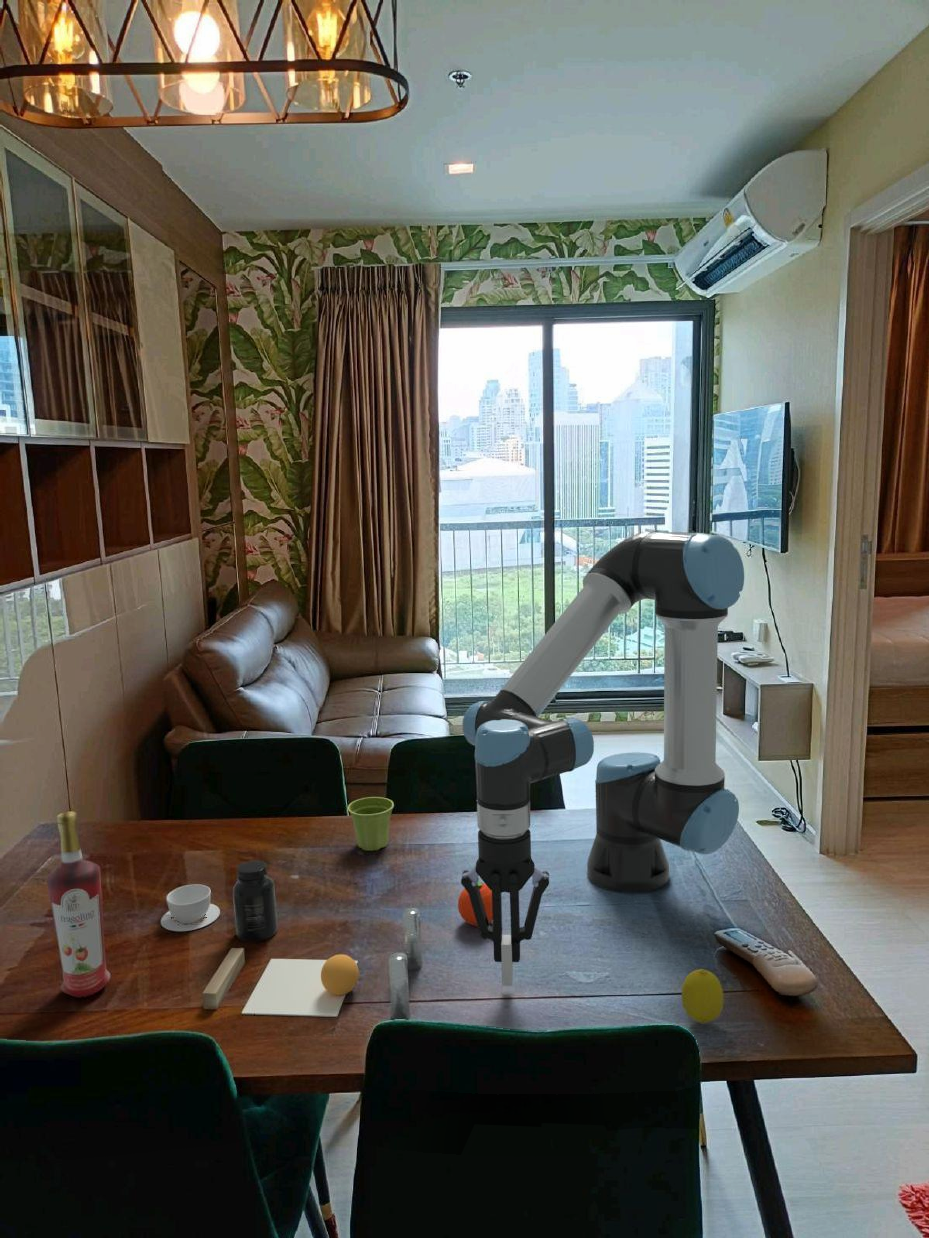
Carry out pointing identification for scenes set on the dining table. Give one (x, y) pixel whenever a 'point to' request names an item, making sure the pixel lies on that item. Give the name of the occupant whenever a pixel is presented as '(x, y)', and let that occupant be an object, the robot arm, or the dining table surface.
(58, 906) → the liquor
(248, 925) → the supplement bottle
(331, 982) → the ball
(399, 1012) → the post
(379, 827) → the plant pot
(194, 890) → the teacup
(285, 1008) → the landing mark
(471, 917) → the clementine
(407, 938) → the post
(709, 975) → the lemon
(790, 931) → the dining table surface
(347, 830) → the dining table surface
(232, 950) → the wall
